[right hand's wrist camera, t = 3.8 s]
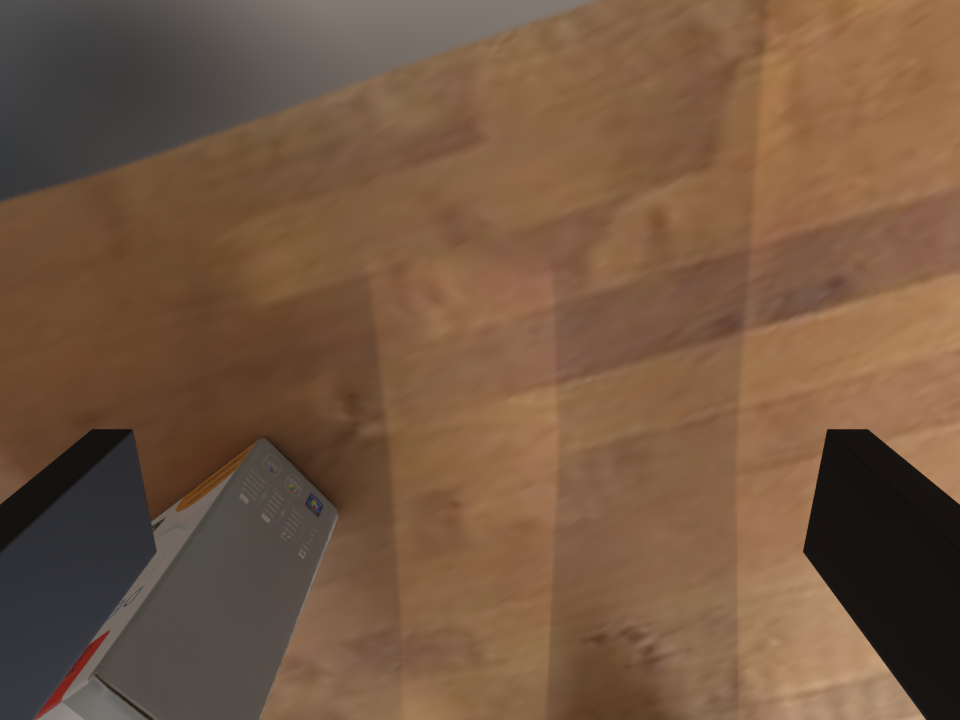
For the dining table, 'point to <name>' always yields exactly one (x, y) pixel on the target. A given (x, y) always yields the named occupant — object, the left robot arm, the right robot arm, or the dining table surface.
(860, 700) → the dining table surface
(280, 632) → the hard drive box
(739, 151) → the dining table surface
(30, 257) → the dining table surface
